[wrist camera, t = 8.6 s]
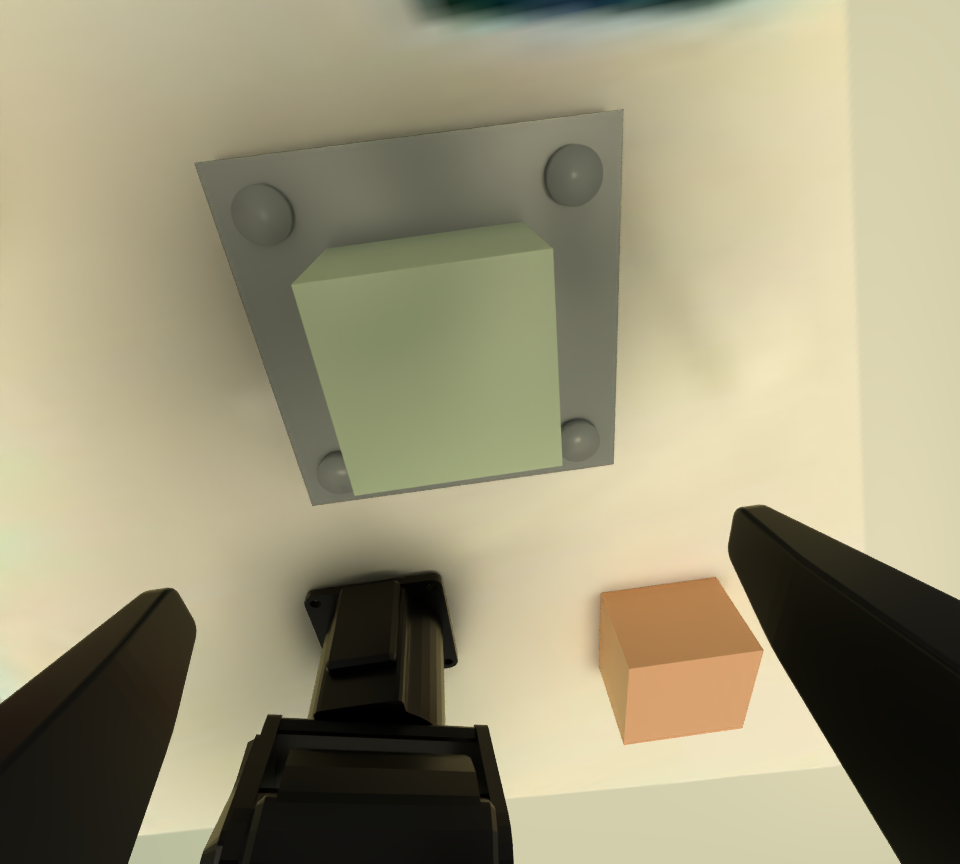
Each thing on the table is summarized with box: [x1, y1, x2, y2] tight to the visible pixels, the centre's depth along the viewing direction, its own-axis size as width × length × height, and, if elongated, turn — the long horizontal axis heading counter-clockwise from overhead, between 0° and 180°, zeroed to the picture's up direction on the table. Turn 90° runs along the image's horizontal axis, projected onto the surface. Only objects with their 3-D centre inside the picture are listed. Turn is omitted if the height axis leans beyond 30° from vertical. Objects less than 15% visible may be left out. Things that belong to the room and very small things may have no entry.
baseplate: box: [195, 109, 623, 506], centre depth 18 cm, size 12×12×2 cm
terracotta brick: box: [599, 577, 764, 745], centre depth 26 cm, size 6×6×4 cm
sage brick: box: [291, 221, 563, 496], centre depth 15 cm, size 6×6×4 cm
